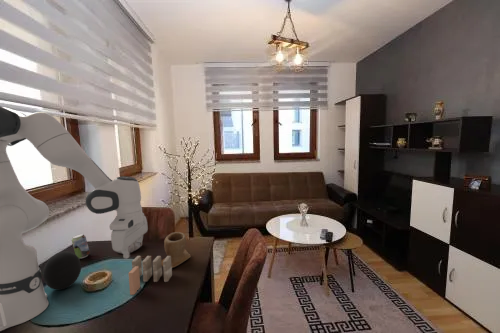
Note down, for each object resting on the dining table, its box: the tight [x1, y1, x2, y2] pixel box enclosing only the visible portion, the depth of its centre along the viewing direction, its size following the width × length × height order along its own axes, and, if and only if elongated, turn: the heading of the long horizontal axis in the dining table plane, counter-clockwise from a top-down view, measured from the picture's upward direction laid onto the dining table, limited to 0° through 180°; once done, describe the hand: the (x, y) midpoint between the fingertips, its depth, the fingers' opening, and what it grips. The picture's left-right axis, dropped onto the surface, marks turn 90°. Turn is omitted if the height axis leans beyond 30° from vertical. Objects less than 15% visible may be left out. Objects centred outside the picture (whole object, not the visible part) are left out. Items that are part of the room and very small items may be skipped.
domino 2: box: [128, 266, 141, 296], centre depth 97 cm, size 2×5×9 cm, turn 178°
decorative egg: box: [42, 250, 82, 291], centre depth 100 cm, size 12×12×15 cm
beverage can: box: [71, 233, 91, 260], centre depth 126 cm, size 6×7×12 cm
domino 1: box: [131, 255, 143, 277], centre depth 106 cm, size 2×5×9 cm, turn 178°
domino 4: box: [152, 255, 163, 283], centre depth 106 cm, size 2×5×9 cm, turn 178°
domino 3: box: [141, 255, 153, 282], centre depth 106 cm, size 2×5×9 cm, turn 178°
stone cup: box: [161, 231, 192, 269], centre depth 119 cm, size 15×12×15 cm
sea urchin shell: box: [116, 240, 140, 254], centre depth 135 cm, size 13×14×8 cm
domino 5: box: [162, 255, 173, 283], centre depth 105 cm, size 2×5×9 cm, turn 178°
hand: (133, 251), depth 96 cm, fingers open, 8 cm apart
